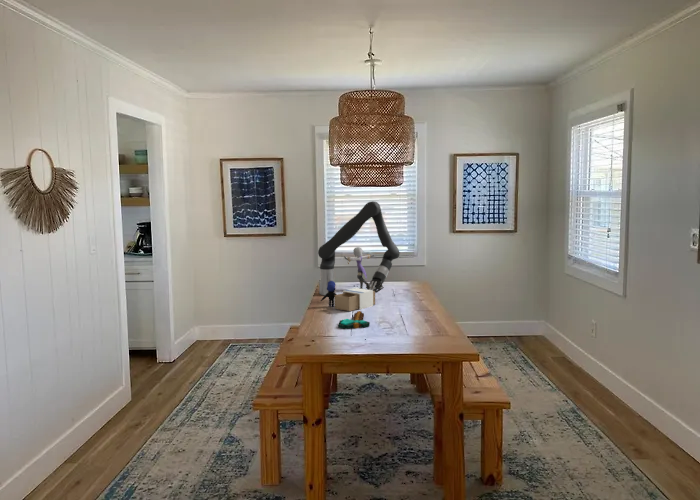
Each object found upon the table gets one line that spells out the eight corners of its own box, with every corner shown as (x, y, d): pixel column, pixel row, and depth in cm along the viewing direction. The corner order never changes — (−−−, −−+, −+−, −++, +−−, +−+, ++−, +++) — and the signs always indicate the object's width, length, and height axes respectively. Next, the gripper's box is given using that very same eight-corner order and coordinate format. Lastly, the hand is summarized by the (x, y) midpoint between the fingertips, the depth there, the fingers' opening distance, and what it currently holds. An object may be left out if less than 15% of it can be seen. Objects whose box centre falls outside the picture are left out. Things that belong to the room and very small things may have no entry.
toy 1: (343, 305, 333) (342, 280, 331) (341, 307, 327) (341, 282, 325) (321, 304, 334) (321, 280, 333) (320, 307, 328) (319, 282, 327)
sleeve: (355, 303, 338) (355, 287, 337) (373, 306, 329) (373, 290, 328) (342, 306, 329) (342, 290, 328) (360, 309, 320) (360, 293, 319)
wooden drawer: (361, 302, 340) (361, 289, 339) (375, 304, 332) (375, 291, 332) (334, 308, 322) (334, 295, 321) (349, 311, 314) (348, 297, 314)
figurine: (345, 287, 391) (344, 245, 388) (374, 287, 390) (374, 245, 387) (343, 291, 375) (343, 248, 372) (374, 291, 374) (374, 247, 370)
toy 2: (343, 316, 306) (337, 329, 277) (343, 310, 306) (337, 324, 276) (371, 316, 305) (368, 330, 276) (371, 311, 305) (368, 324, 275)
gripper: (369, 269, 346) (357, 292, 338) (386, 271, 337) (374, 294, 330) (375, 277, 351) (362, 299, 343) (391, 279, 342) (379, 302, 334)
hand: (368, 297), depth 336 cm, fingers closed
